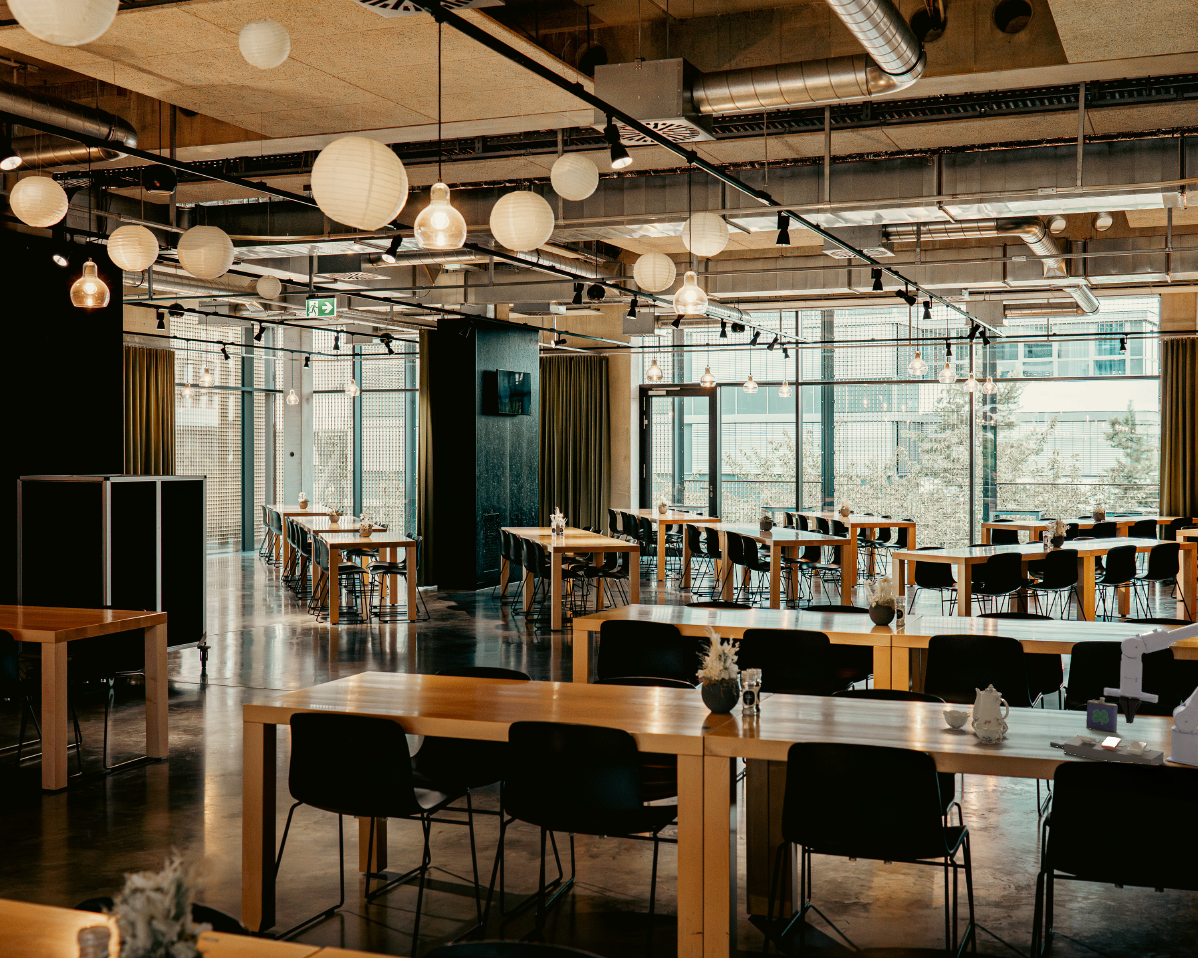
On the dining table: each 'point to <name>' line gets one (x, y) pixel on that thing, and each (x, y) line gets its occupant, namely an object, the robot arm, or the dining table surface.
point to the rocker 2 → (1136, 747)
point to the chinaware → (982, 716)
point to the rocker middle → (1111, 743)
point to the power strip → (1110, 752)
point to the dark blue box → (1101, 715)
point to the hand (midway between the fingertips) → (1129, 722)
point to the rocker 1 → (1086, 739)
